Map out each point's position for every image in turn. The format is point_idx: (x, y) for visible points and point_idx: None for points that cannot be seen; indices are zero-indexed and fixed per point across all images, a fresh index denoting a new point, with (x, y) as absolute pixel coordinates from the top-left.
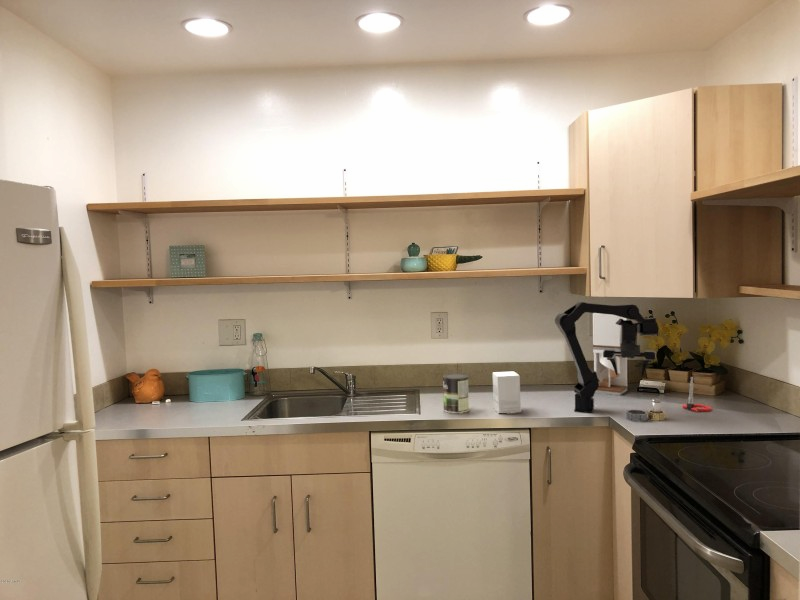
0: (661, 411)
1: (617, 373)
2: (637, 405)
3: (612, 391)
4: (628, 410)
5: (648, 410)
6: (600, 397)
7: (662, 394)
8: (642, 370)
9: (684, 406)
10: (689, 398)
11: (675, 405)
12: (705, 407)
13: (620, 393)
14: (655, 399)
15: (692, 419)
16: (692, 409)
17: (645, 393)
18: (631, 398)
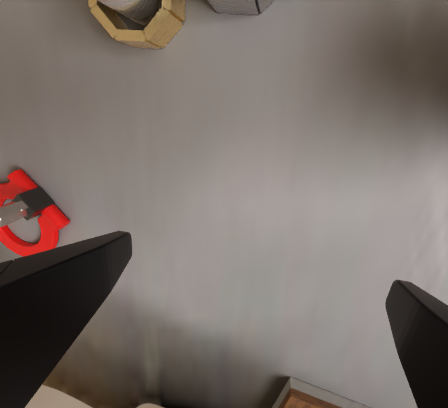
0: (107, 15)
1: (394, 313)
2: (230, 239)
3: (320, 401)
4: None
5: (170, 6)
6: (379, 350)
7: (148, 384)
8: (68, 256)
9: (57, 215)
10: (2, 211)
11: None
12: (7, 231)
13: (288, 387)
14: None
15: (11, 40)
16: (29, 182)
17: (199, 396)
18: (249, 338)
